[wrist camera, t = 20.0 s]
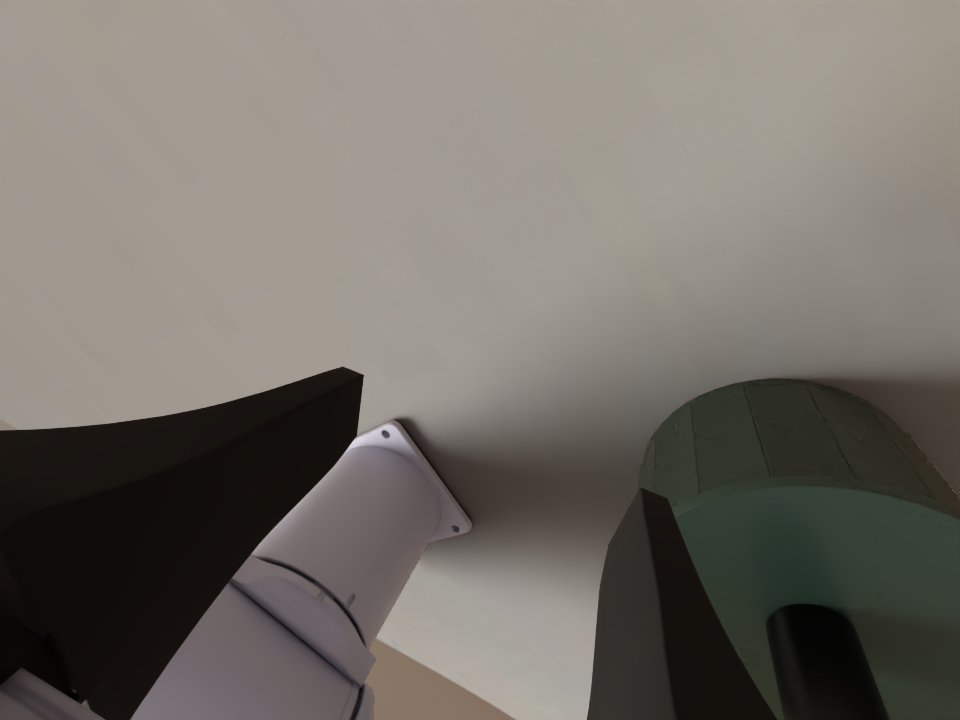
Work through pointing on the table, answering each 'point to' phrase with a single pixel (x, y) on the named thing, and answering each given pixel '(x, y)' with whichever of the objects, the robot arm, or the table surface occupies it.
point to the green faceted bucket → (783, 442)
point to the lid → (834, 593)
